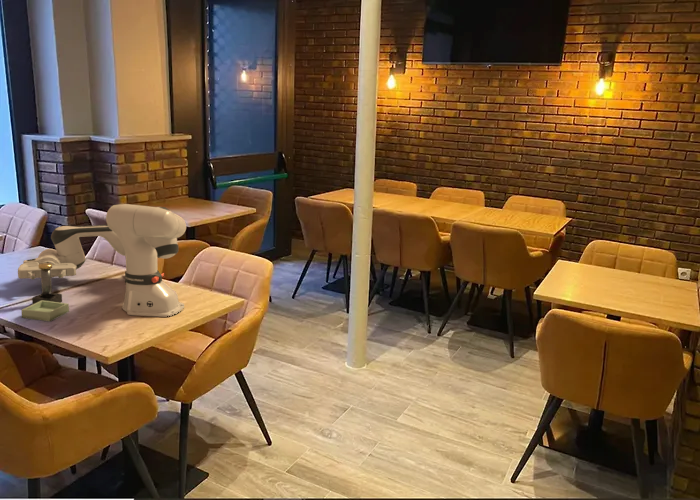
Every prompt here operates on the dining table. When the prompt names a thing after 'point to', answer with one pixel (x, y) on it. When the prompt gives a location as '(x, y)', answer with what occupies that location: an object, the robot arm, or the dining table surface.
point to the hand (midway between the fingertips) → (46, 276)
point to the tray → (45, 310)
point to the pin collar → (53, 299)
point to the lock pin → (46, 279)
